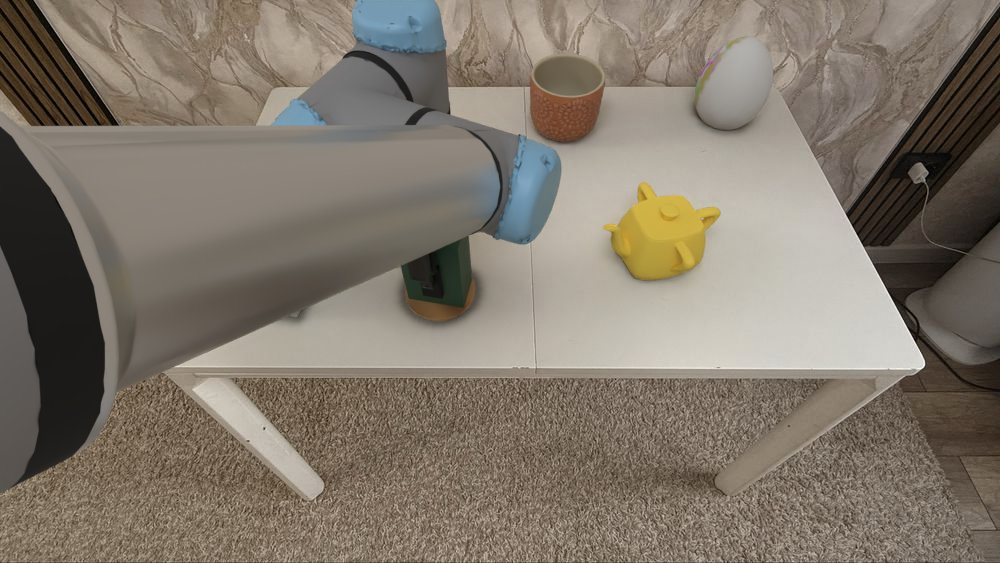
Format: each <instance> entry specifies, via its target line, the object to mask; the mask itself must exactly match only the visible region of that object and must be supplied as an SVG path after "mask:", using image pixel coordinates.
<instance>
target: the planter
mask: <svg viewBox="0 0 1000 563" xmlns="http://www.w3.org/2000/svg"><path fill="white" fill-rule="evenodd" d="M605 86H606V73H605V71H604V68H603V67H602V66H601V65H600V64H599V63H598V62H597V61H595V60H594V59H592V58H589V57H587V56H585V55H581V54H577V53H567V52H566V53H565V52H564V53H555V54H550V55H548V56H545V57H543V58H541V59H539V60H538V61H537V62H536V63H535V64H534V65H533V67H532V69H531V71H530V78H529V113H530V114H529V115H530V119H531V122H532V124H533V126H534V128H535V130H537V131H538V132H539V133H540V134H541V135H543V137H545V138H547V139H550V140H551V141H552V140H553V141H556V142H572V141H576V140H579V139H581V138H583V137H585V136H586V135H588V133H590V132H591V131H592V130H593V129H594V127H595V125H596V123H597V120H598V118H599V113H600V109H601V104H602V100H603V96H604V95H603V94H604V90H605Z"/></svg>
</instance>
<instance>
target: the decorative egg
mask: <svg viewBox="0 0 1000 563" xmlns="http://www.w3.org/2000/svg"><path fill="white" fill-rule="evenodd" d="M773 83H774V64H773V60H772V56H771V54H770V52H769V50H768V48H767V47H766V45H765V43H763V41H761V40H760V39H758V38H756V37H754V36H740V37H737V38H734V39H732V40H730V41H728V42H727V43H725V44H723V45H722V46H721V47H720V48H718V49H717V50H716V51H715V52H714V53H713V54H712V55H711V56H710V57H709V59H708V60H707V61H706V63H705V64H704V65H703V67H702V69H701V71H700V73H699V75H698V77H697V80H696V84H695V89H694V105H695V109H696V112H697V114H698V116H699V117H700V119H701V120H702V122H703V123H705V124H706V125H708V126H709V127H711V128H714V129H718V130H722V131H732V130H737V129H740V128H741V127H743V126H745V125H747V124H749V123H750V122H752V121H753V120H754V119H755V118H756V117H757V116H758V115H759V114H760V112H761V111H762V110H763V109H764V107H765V105H766V103H767V101H768V99H769V98H770V95H771V92H772V88H773Z"/></svg>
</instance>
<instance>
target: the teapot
mask: <svg viewBox="0 0 1000 563" xmlns="http://www.w3.org/2000/svg"><path fill="white" fill-rule="evenodd" d="M655 192H656V191H654V189H653V187H652V186H651V185H650V184H649V183H648V182H645V181H643V182H640V183H639V184H638V186H637V193H636V194H637V196H636V197H637V203H634V204H633V205H632V206H631V207H630V208H629V209H628V210H627V212H625V213H624V215H623V216H622V218H621V219H620V221H618V224H615V223H606V224H604V225H602V229H603V230H605V231H607V232H610V233H611V235H610V245H611V247H612V249H613V251H614V252H615V254H617V255H619V256H620V257H621V259H622V262H623V263H624V264H625V266H626V268H627V270H628V271H629V273H630V274H631V275H632V276H633V277H634V278H635V279H637V280H641V281H657V280H663V279H669V278H673V277H677V276H679V275H681V274H683V273H686V272H690V271H691V270H693V269H694V268H696V266H698V265H699V264H700V262H701V261H702V259H703V256H704V253H705V248H706V230H707V229H709V228H710V227H711V226H713V225H714V224H715V223H716V222H717V221H718V219H719V218H720V216H721V214H722V212H721V209H720V208H719V207H717V206H707V207H703V208H699V209H695V208H694V206H693V204H691V202H690V201H689V200H688V199H687V197H685V196H684V195H678V194H669V195H661V196H657V194H656V193H655Z"/></svg>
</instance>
